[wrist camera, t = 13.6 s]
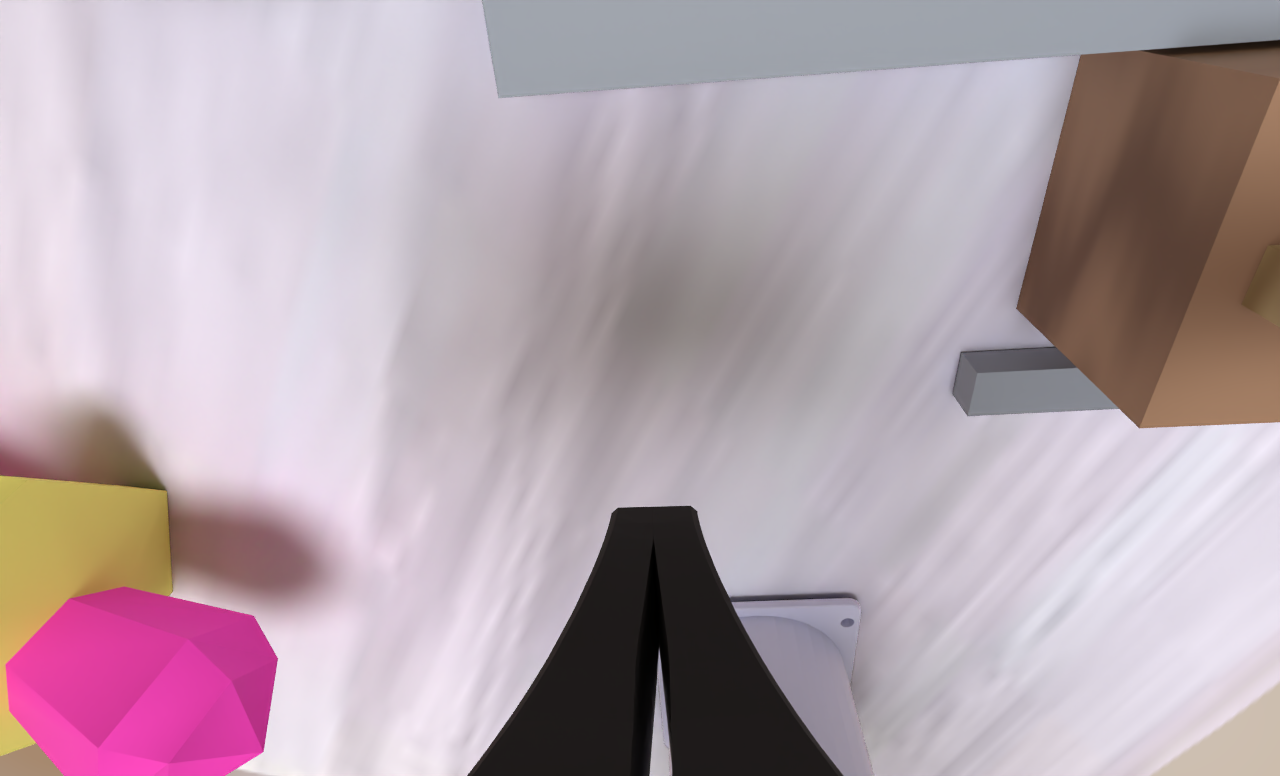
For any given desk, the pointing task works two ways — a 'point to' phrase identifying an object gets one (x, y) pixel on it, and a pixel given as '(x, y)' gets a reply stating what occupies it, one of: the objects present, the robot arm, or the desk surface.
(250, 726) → the toy
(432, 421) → the desk surface
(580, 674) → the robot arm
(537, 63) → the grey j-shaped hook
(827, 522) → the desk surface
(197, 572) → the desk surface
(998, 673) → the desk surface
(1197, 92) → the cardboard box
